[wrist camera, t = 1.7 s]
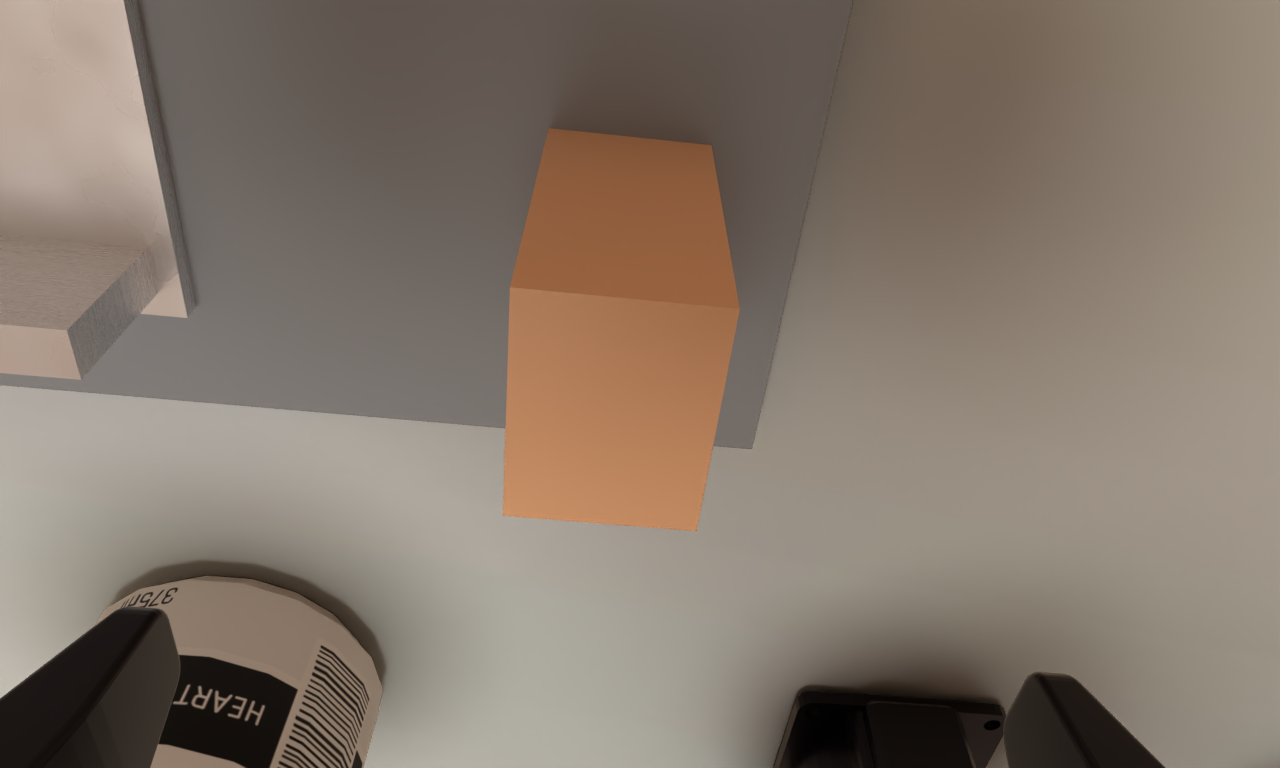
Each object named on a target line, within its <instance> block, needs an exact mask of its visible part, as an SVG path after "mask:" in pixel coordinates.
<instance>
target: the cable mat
mask: <svg viewBox="0 0 1280 768" xmlns="http://www.w3.org/2000/svg"><path fill="white" fill-rule="evenodd" d="M852 4H853V0H139V5H140V10H141V15H142V21H143V26H144V31H145V36H146V41H147V47H148V52H149V57H150V62H151V67H152V73H153V78H154V83H155V88H156V93H157V99H158V104H159V109H160V114H161V119H162V125H163V130H164V135H165V140H166V145H167V151H168V156H169V161H170V166H171V171H172V177H173V182H174V187H175V192H176V198H177V203H178V208H179V213H180V218H181V224H182V229H183V234H184V239H185V244H186V250H187V255H188V260H189V265H190V270H191V276H192V281H193V286H194V291H195V296H196V302H197V307H196V308H195V309H194V310H193V312H192V313H191V314H190V315H189V317H188V318H181V317H170V316H159V315H148V314H139V315H138V316H137V317H136V319H135V320H134V321H133V322H132V323H131V324H130V325H129V327H128V328H127V329H126V330H125V331H124V332H123V333H122V334H121V336H120V337H119V338H118V339H117V340H116V341H115V342H114V343H113V345H112V346H111V347H110V348H109V349H108V350H107V351H106V353H105V354H104V355H103V356H102V357H101V358H100V359H99V360H98V362H97V363H96V364H95V365H94V366H93V367H92V368H91V370H90V371H89V372H88V373H87V374H86V375H85V376H84V377H83V379H82V380H76V379H64V378H52V377H41V376H29V375H18V374H6V373H0V385H6V386H17V387H29V388H41V389H53V390H64V391H76V392H88V393H99V394H111V395H123V396H134V397H146V398H158V399H170V400H181V401H193V402H205V403H216V404H228V405H240V406H251V407H263V408H275V409H287V410H298V411H310V412H322V413H333V414H345V415H357V416H368V417H380V418H392V419H404V420H415V421H427V422H439V423H450V424H462V425H474V426H485V427H497V428H506V399H507V366H508V332H509V299H510V285H511V280H512V276H513V272H514V268H515V264H516V260H517V256H518V252H519V248H520V244H521V240H522V235H523V231H524V227H525V223H526V219H527V215H528V211H529V207H530V203H531V199H532V195H533V190H534V186H535V182H536V178H537V174H538V170H539V166H540V162H541V158H542V154H543V149H544V145H545V141H546V137H547V133H548V129H549V128H552V129H562V130H571V131H581V132H590V133H600V134H609V135H619V136H629V137H638V138H648V139H657V140H667V141H676V142H686V143H695V144H705V145H712V151H713V157H714V163H715V168H716V174H717V180H718V186H719V191H720V197H721V203H722V209H723V215H724V220H725V226H726V232H727V238H728V244H729V249H730V255H731V261H732V267H733V273H734V278H735V284H736V290H737V296H738V301H739V307H740V311H739V316H738V321H737V326H736V331H735V336H734V341H733V347H732V352H731V357H730V362H729V367H728V372H727V377H726V383H725V388H724V393H723V398H722V403H721V408H720V413H719V419H718V424H717V429H716V434H715V439H714V444H713V446H719V447H731V448H743V449H752V447H753V443H754V438H755V434H756V430H757V425H758V421H759V416H760V412H761V407H762V403H763V398H764V394H765V390H766V385H767V381H768V376H769V372H770V367H771V363H772V359H773V354H774V350H775V345H776V341H777V336H778V332H779V328H780V323H781V319H782V314H783V310H784V305H785V301H786V297H787V292H788V288H789V283H790V279H791V274H792V270H793V266H794V261H795V257H796V252H797V248H798V243H799V239H800V235H801V230H802V226H803V221H804V217H805V212H806V208H807V204H808V199H809V195H810V190H811V186H812V181H813V177H814V173H815V168H816V164H817V159H818V155H819V150H820V146H821V142H822V137H823V133H824V128H825V124H826V119H827V115H828V111H829V106H830V102H831V97H832V93H833V88H834V84H835V80H836V75H837V71H838V66H839V62H840V57H841V53H842V49H843V44H844V40H845V35H846V31H847V26H848V22H849V18H850V13H851V9H852Z"/></svg>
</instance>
